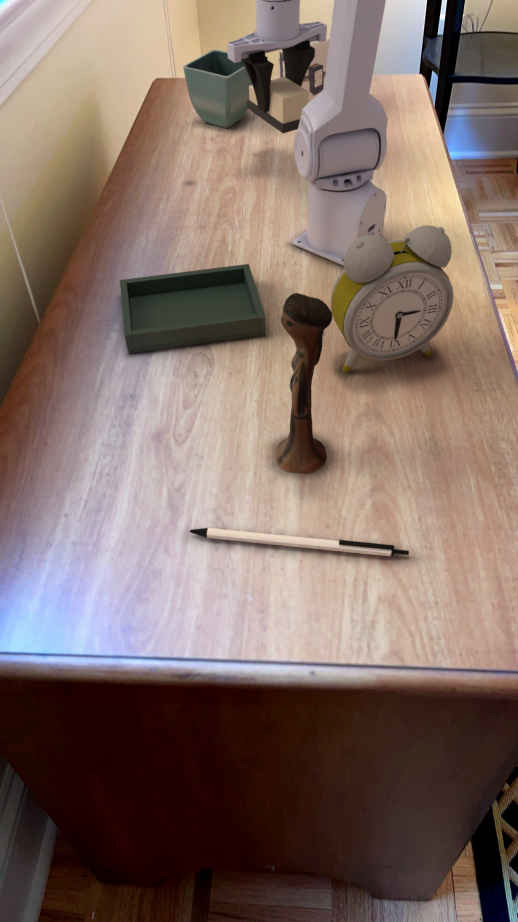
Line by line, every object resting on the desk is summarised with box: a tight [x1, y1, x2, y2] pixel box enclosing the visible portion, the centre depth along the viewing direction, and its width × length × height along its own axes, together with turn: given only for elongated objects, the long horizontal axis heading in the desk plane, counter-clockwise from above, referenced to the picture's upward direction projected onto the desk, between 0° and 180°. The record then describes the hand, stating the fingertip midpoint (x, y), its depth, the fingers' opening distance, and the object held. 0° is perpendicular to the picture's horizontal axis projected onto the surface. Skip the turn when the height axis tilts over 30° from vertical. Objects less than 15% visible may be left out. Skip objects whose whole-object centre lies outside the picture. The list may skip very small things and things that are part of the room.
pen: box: [187, 527, 410, 557], centre depth 59 cm, size 1×19×1 cm, turn 82°
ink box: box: [278, 35, 330, 103], centre depth 113 cm, size 8×5×12 cm, turn 28°
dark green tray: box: [119, 263, 266, 355], centre depth 80 cm, size 16×11×3 cm
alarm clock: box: [330, 224, 454, 373], centre depth 70 cm, size 12×7×15 cm, turn 105°
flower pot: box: [182, 49, 252, 129], centre depth 112 cm, size 9×9×9 cm
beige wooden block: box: [247, 77, 309, 134], centre depth 98 cm, size 10×4×5 cm, turn 30°
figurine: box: [275, 292, 333, 474], centre depth 60 cm, size 7×5×18 cm
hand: (278, 105), depth 99 cm, fingers closed on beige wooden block, 4 cm apart
